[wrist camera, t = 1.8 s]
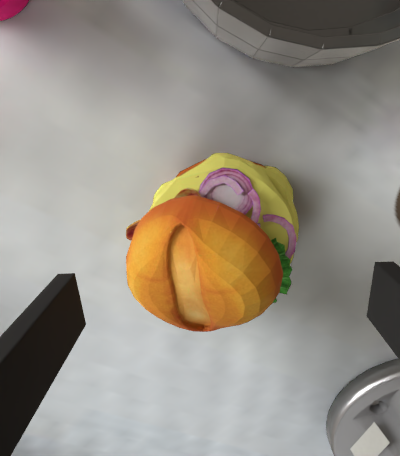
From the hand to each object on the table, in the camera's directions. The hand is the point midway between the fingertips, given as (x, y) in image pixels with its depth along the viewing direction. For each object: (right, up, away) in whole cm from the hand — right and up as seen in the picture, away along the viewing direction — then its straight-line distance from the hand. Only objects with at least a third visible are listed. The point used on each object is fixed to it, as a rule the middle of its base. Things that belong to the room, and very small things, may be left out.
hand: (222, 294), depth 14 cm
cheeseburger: (0, +3, +10) cm, 10 cm away
